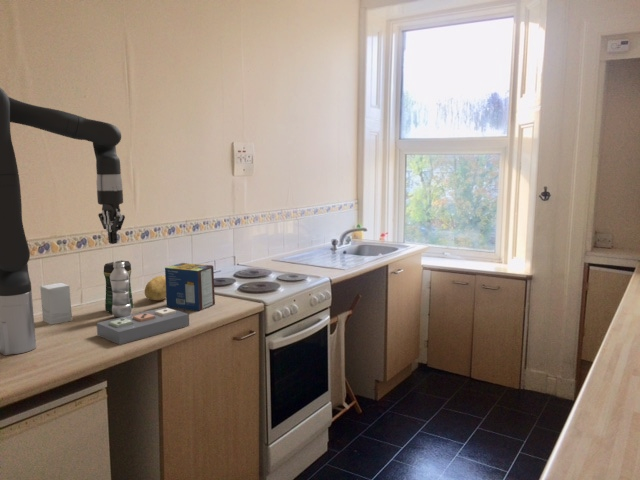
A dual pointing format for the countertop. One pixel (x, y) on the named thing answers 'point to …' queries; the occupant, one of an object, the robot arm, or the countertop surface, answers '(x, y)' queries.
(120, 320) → the button two dots
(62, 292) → the supplement box
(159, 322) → the button panel
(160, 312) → the button one dot
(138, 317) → the button three dots
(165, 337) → the countertop surface
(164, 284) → the potato
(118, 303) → the plastic bottle
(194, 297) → the protein box
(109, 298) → the coffee jar
